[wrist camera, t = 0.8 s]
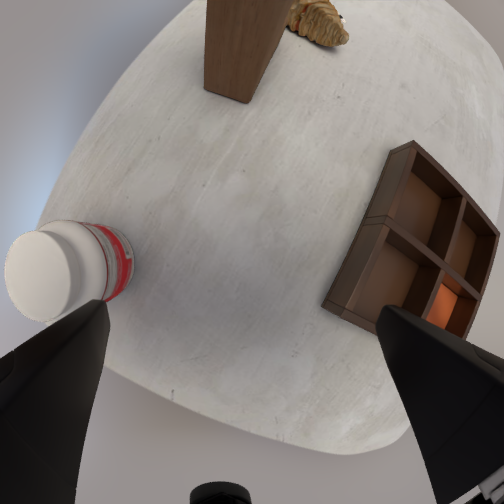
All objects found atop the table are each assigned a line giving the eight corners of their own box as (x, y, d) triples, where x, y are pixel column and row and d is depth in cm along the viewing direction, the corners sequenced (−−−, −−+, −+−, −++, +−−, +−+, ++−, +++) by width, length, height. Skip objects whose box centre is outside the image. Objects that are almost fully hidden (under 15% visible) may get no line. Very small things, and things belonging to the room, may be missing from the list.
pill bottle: (67, 285, 22) (-9, 311, 11) (81, 217, 22) (6, 203, 11) (128, 306, 23) (75, 353, 12) (144, 236, 23) (95, 233, 12)
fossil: (266, -21, 23) (234, 5, 22) (285, -50, 18) (252, -31, 16) (345, 27, 27) (328, 60, 25) (371, 4, 21) (359, 33, 20)
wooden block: (238, 29, 23) (274, -110, 5) (279, 43, 24) (343, -89, 6) (202, 90, 23) (210, -81, 5) (248, 106, 23) (313, -58, 6)
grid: (429, 359, 28) (450, 370, 24) (320, 306, 25) (340, 317, 21) (478, 233, 29) (500, 233, 25) (390, 150, 26) (413, 139, 22)
